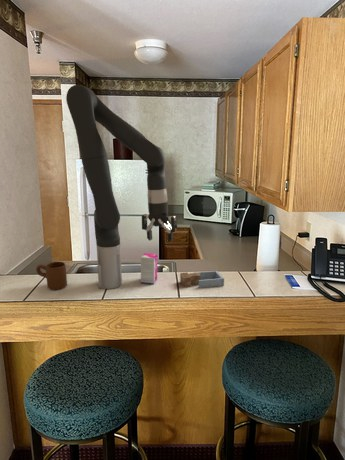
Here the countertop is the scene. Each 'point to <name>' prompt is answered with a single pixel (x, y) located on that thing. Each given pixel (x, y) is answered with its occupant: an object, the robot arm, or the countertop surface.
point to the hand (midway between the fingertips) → (160, 240)
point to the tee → (189, 279)
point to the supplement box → (148, 268)
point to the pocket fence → (210, 282)
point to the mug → (54, 275)
